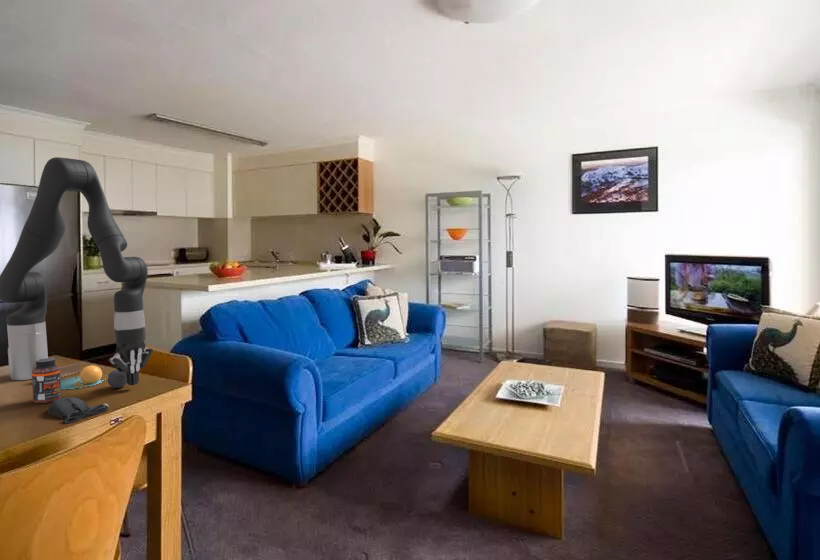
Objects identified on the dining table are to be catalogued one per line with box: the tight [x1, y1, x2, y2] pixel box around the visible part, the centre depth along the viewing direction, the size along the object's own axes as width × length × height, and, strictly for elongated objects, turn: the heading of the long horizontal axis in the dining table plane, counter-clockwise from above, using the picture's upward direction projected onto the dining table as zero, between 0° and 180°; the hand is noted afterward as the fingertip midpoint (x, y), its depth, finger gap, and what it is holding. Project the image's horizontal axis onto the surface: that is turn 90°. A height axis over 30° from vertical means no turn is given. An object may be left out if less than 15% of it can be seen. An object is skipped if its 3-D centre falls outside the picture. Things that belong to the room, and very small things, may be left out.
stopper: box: [59, 362, 81, 379], centre depth 140 cm, size 2×12×3 cm, turn 162°
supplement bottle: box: [31, 357, 62, 404], centre depth 120 cm, size 6×6×11 cm
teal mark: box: [61, 375, 106, 391], centre depth 136 cm, size 14×14×1 cm
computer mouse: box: [47, 396, 110, 425], centre depth 112 cm, size 10×15×4 cm
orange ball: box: [79, 365, 103, 384], centre depth 134 cm, size 6×6×6 cm
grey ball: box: [106, 368, 127, 389], centre depth 131 cm, size 6×6×6 cm
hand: (132, 384), depth 129 cm, fingers closed
